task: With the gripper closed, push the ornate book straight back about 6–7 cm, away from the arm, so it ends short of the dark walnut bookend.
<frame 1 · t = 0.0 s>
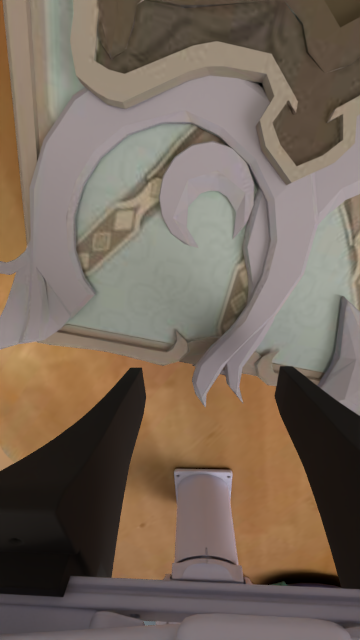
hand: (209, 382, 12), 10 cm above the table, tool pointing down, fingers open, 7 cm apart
ornate book: (226, 225, 18), on the table
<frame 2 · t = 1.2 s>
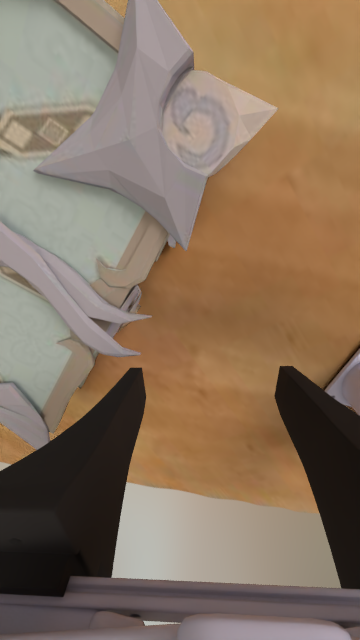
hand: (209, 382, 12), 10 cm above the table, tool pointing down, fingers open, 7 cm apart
ornate book: (40, 242, 19), on the table
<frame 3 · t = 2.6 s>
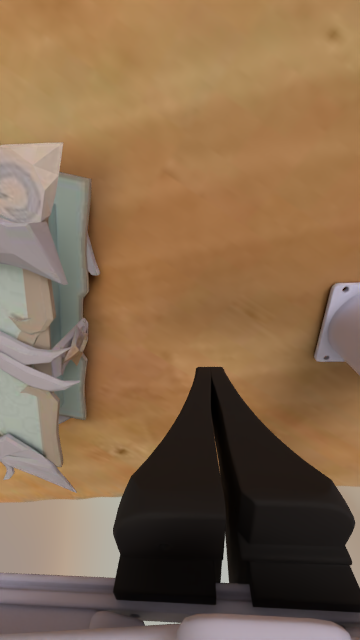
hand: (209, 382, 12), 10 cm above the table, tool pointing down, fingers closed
ornate book: (3, 311, 23), on the table
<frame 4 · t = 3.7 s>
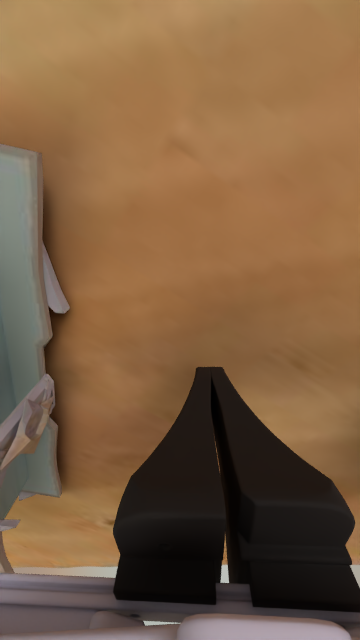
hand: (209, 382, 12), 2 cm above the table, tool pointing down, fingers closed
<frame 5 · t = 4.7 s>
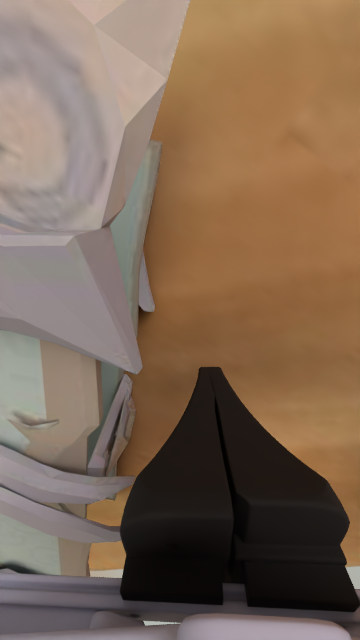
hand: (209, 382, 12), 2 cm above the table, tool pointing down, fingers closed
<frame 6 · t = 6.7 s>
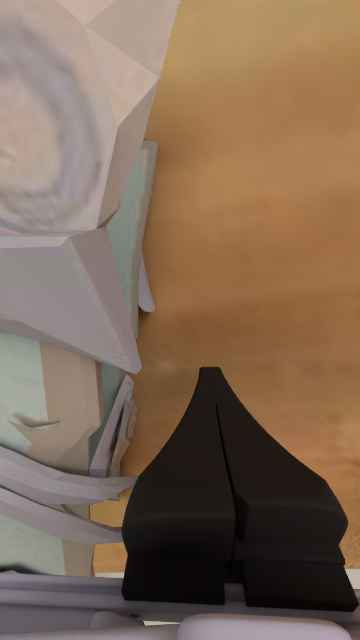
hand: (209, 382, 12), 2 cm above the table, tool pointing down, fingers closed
ornate book: (0, 360, 15), on the table, touching gripper
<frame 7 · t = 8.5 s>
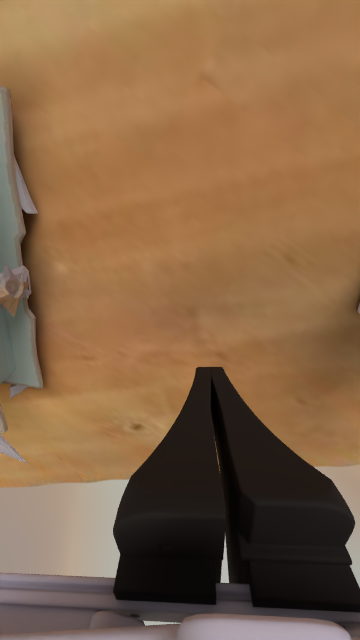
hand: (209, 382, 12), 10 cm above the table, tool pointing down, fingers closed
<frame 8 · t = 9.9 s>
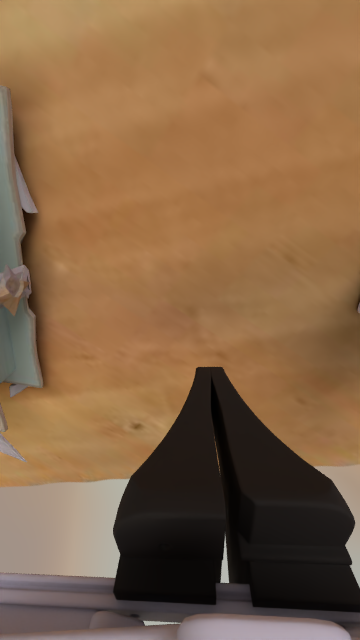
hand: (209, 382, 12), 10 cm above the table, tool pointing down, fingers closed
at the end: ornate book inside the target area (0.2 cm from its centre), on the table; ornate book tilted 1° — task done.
